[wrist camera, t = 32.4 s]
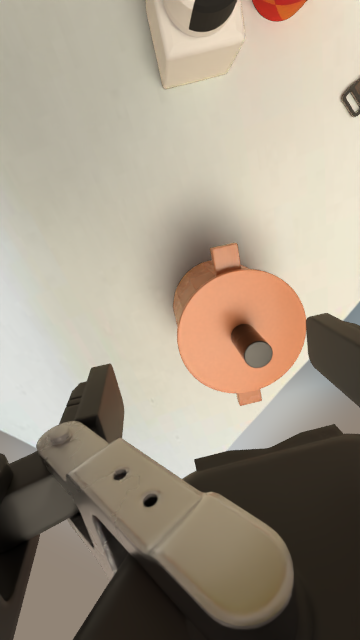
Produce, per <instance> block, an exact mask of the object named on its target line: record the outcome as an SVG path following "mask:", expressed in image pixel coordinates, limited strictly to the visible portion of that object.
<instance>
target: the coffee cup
mask: <svg viewBox="0 0 360 640" xmlns="http://www.w3.org/2000/svg"><path fill="white" fill-rule="evenodd" d="M252 1H253V4H254V6H255V8H256V9H257V11H258V12H259V13H260V14H261V15H262V16H263V17H265V18H266V19H268V20H271V21H283V20H286V19H288V18H290V17H291V16H293V15H294V14H295V13H296V12H297V11H298V10H299V9H300V8H301V7H302V6H303V5H304V3H305V2H306V1H307V0H252Z"/></svg>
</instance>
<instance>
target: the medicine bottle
mask: <svg viewBox="0 0 360 640" xmlns="http://www.w3.org/2000/svg"><path fill="white" fill-rule="evenodd" d="M146 13H147V18H148V22H149V27H150V31H151V36H152V40H153V45H154V49H155V54H156V58H157V63H158V67H159V72H160V76H161V81H162V86H163V88H164V89H169V88H173V87H177V86H181V85H185V84H189V83H193V82H197V81H201V80H205V79H209V78H213V77H216V76H220V75H224V74H227V73H228V71H229V69H230V67H231V65H232V63H233V61H234V59H235V58H236V56H237V54H238V52H239V50H240V48H241V46H242V44H243V43H244V41H245V36H246V35H245V29H244V22H243V15H242V8H241V1H240V0H146Z"/></svg>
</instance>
